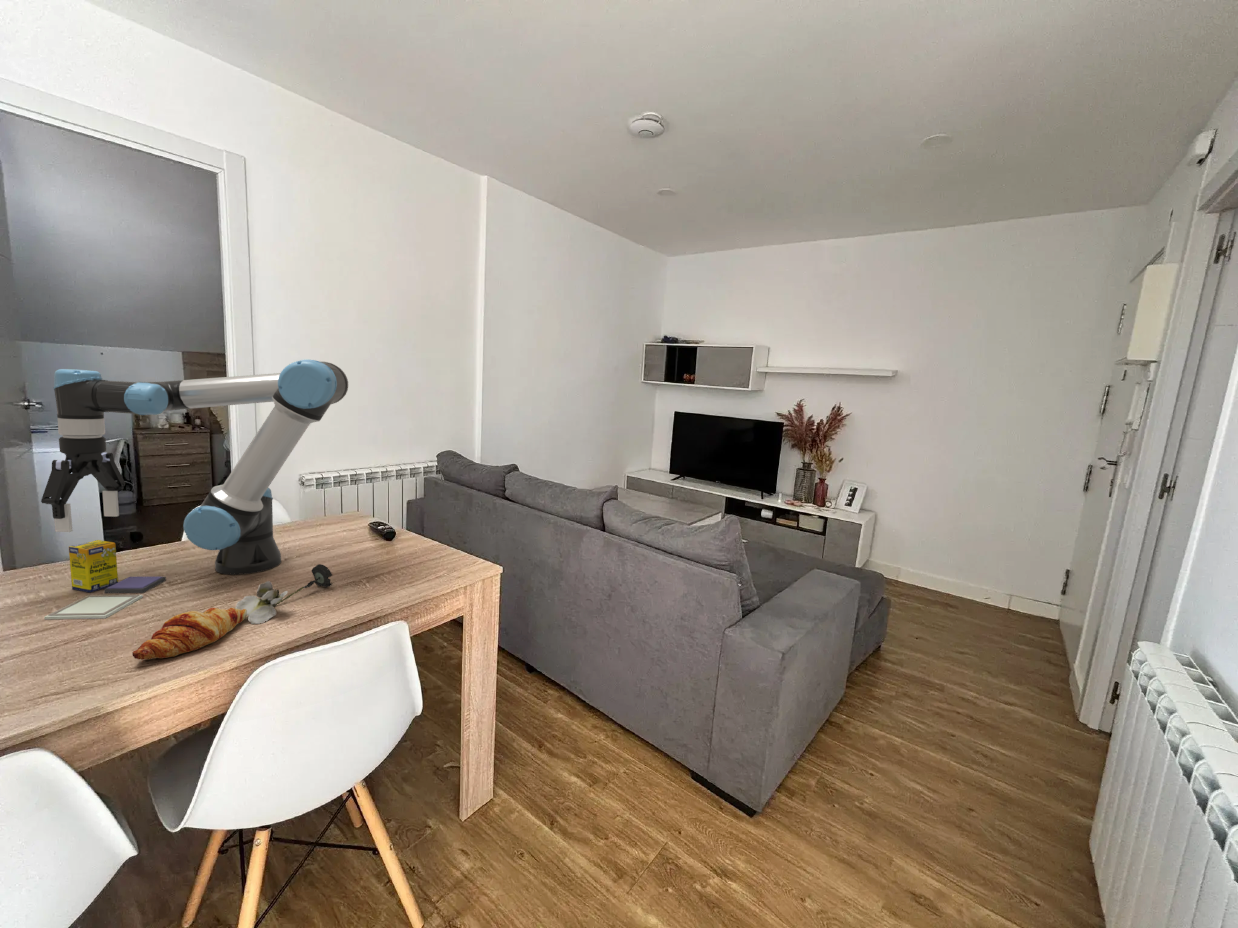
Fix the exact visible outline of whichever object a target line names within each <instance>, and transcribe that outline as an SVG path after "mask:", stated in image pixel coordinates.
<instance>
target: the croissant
mask: <svg viewBox="0 0 1238 928" xmlns="http://www.w3.org/2000/svg"><path fill="white" fill-rule="evenodd" d="M246 614H247V610H246V609H243V610H240V609H236V608H234V607H229V608H227V609H225V608H223V609H221V608H220V609H219V608H218V607H216V608H215V607H210V608H208V609H206V610H205V611H204V612H202V611H198V610H190V611H186V612H183V613H179V614H176V615H174V616H172V617H171V618H169V619H168V620H166V621H164V623H163V625H162V627H160V629H158V630H156V631H155V632H154V633H153V634H152V635H151V638H150V639H147V640H146V641H144V642H143V643H141V645H140V646H139V647H137V649H135V650H133V651H132V656H133V658H134V659H135V660H153V659H167V658H174V657H176V656H179V655H182V654H185V653H186V654H187V653H190V652H193V651H196V650H199V649H202V648H203V647H206V646H207V645H210V644H213V643H216V641H218V640H220V639H221V638H223V637H224V636H225V635H226V634H227V633H229V632H231V631H232V630H233V629H235V627H236V626H237V625H239V624H241V623H242V622H243V621H244V620H245V619H246V617H247V616H246Z"/></svg>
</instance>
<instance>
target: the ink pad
mask: <svg viewBox="0 0 1238 928" xmlns="http://www.w3.org/2000/svg"><path fill="white" fill-rule="evenodd" d="M166 581H167V577H166V576H128V577H127V578H125V579H122V580H120V581H118V583H116V584H114V585H112V586H110V587H107V588H103V593H104V594H144V593H145V592H146V593H147V592H148V591H150V590H151V589H153V588H155V587H157V586H158V585H160V584H162V583H164V582H166Z"/></svg>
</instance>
